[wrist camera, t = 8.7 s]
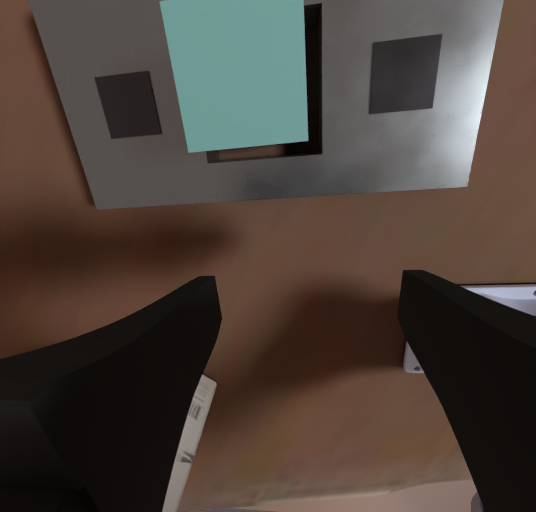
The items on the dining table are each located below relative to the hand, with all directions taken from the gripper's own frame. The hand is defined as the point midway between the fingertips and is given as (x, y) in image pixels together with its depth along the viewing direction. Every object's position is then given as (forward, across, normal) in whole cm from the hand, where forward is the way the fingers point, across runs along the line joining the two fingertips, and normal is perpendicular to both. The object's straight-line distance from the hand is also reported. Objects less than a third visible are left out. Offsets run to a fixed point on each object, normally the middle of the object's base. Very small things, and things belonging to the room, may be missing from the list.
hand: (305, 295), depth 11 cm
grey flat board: (+9, +2, -8) cm, 13 cm away
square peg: (+9, +2, -8) cm, 12 cm away
